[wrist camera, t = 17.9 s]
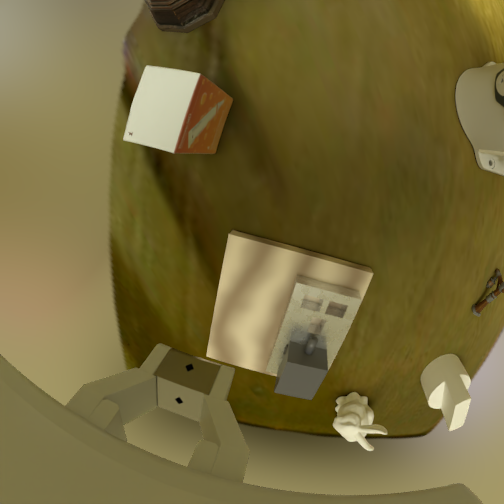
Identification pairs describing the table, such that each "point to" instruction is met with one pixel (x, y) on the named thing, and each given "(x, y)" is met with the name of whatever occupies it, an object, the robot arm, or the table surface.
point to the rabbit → (356, 419)
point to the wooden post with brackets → (491, 296)
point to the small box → (177, 112)
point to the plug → (302, 369)
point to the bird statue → (183, 13)
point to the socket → (303, 310)
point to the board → (267, 295)
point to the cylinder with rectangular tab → (447, 388)
